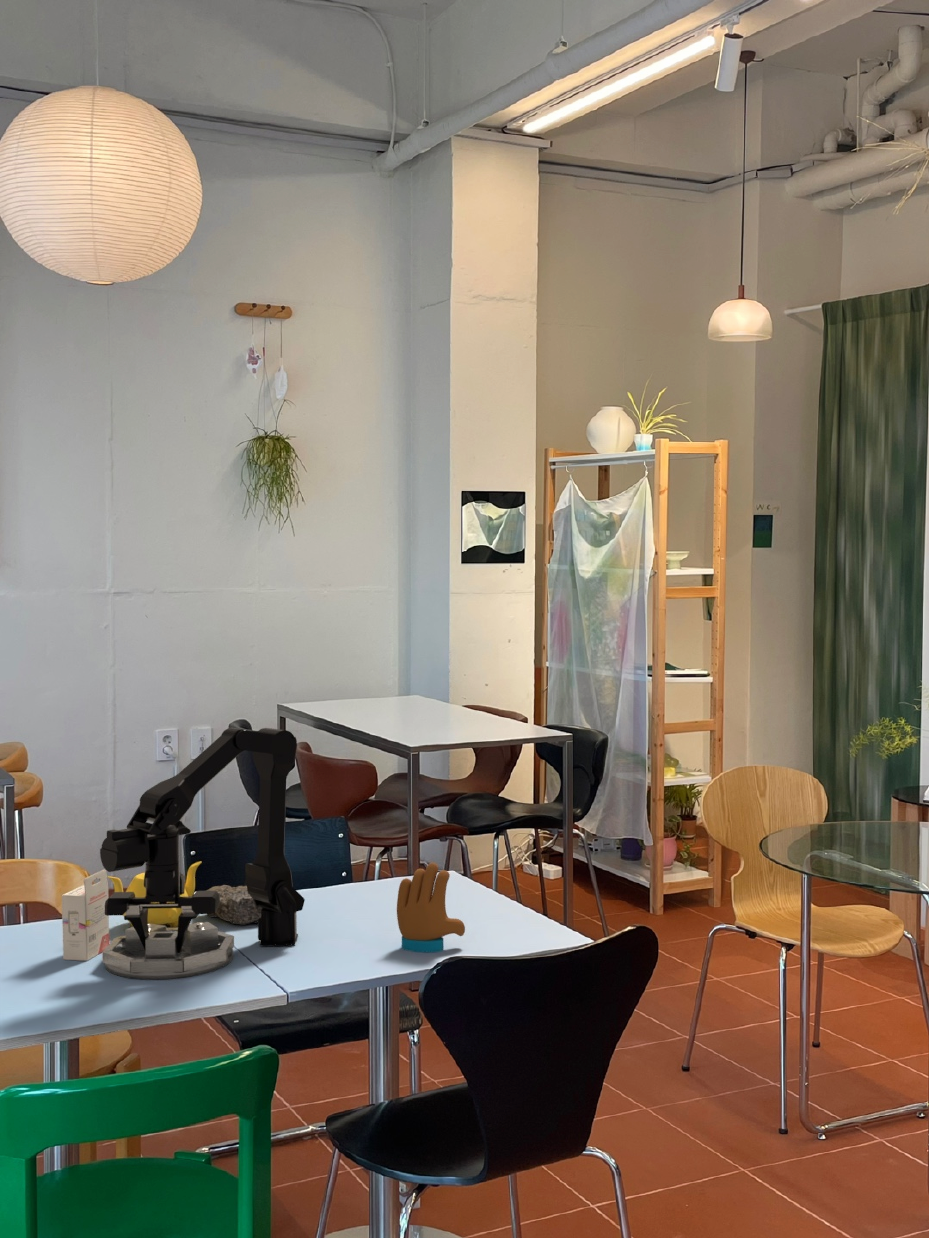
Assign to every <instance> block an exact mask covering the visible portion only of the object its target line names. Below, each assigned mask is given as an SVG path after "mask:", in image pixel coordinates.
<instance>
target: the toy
mask: <svg viewBox="0 0 929 1238" xmlns="http://www.w3.org/2000/svg"><path fill="white" fill-rule="evenodd" d="M449 879H450V872H449V871H447V870H445V869H442V870H440V871H439V866H438V864H437V863H435V862H430V863H428V865H427V866H426V868H425V869H424V868H418V869H416V870H415V871H414V873H413V875H412V879H410V878H403V879H402V880H401V881H400V884H399V886H398V887H399V888H398V891H397V901H396V919H397V925H398V929H399V931H400V934H401V949H403V950H406V951H408V952H409V951H410V952H415V953H416V952H417V953H438V952H442V951H444V937H445V936H447V935H451V934H456V935H457V936H458V937H459V936H460V937H463V936H464V934H465V932H466V927H465V924H464V922H463V920H461V919H459V918H450V917H448V914H447V910H446V909H447V908H446V894H447V885H448V883H449Z"/></svg>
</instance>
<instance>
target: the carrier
mask: <svg viewBox="0 0 929 1238" xmlns="http://www.w3.org/2000/svg"><path fill="white" fill-rule="evenodd" d="M148 929H149V935H150V933H151V932H170V931H178V927H167V926H166V925H164V924H161V925H157V924H150V923H148ZM218 929H219V928H218V927H217V926H216V925H215V924H212V923H211V922H209V921H205V922H202V921H200V922H198V921H197V922H196V923H190V924H189V927H188V930H187V933H186V936H185V939H184V943H183V946H182V949H181V955H180V956H179V958H178V959H146V952H145V949H144V947H143V945H142V943H141V940H140V938H139V936H138V934H137V932H136V930H135V929H134V927H133V926H130V927H127V928H125V930H124V931H125V935H121V936H116V937H114V938H113V939H112V941H110V942H109V945H108V946H107V947H106V948H105V949H104V950H103V952H101V953H102V954H101V955H102V956H101V957H102V958H101V959H102V963H103V964H105V965H104V967H105V969H106V971H107V972H109V973H110V974H112V975H115V976H118V977H122V978H125V979H126V978H127V979H132V980H133V979H134V980H144V981H145V980H148V981H149V980H150V981H151V980H153V981H155V980H158V981H159V980H163V981H164V980H173V979H184V978H190V977H195V976H201V975H204V974H208V973H212V972H215V971H217V970H220V969H223V968H225V967H226V966H227V965H229V964H230V963H231V962H232V961H233V959H234V947H235V935H233V934H229V933H225V932H223V931H219V930H218Z"/></svg>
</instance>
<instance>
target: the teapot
mask: <svg viewBox="0 0 929 1238" xmlns="http://www.w3.org/2000/svg"><path fill="white" fill-rule="evenodd" d="M201 864H202V861H196V862H195V863H192V864H191V865H190V866H189V868H188V869H187V873H186V874H187V875H186V879H185V890H184V894H182V895H180V897H193V896H194V894H195V889H196V878H195V877H196V871H197V869H198V867H199V866H200V865H201ZM144 876H145V872H142V873H139V874H137V875H135V876H134V877H133V879H132V880H131V882H130V883H129V885H128V887H127V888H126V890H125V892H134V894H135V897H145V896H146V888H145V887H144ZM107 879H109V880H111V882H112V883H113V887H114V892H124V888H123V887H124V885H123V883H122V880H121V879H120V878H119V877H114V876H109V875H107ZM151 903H152V902H151ZM153 903H154V902H153ZM155 903H156V902H155ZM157 903H159V902H157ZM167 903H175V902H167ZM181 913H182V910H181V908H148V923H150V924H157V925H166V924H167V925H168V926H169V928H178V918H179V915H180V914H181ZM122 916H123V917H124V916H125V913H124V914H123V915H122ZM127 922H129V923H130V925H129V926H130V927H133V925H132V924H131V922H130V921H129V920H127Z"/></svg>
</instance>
